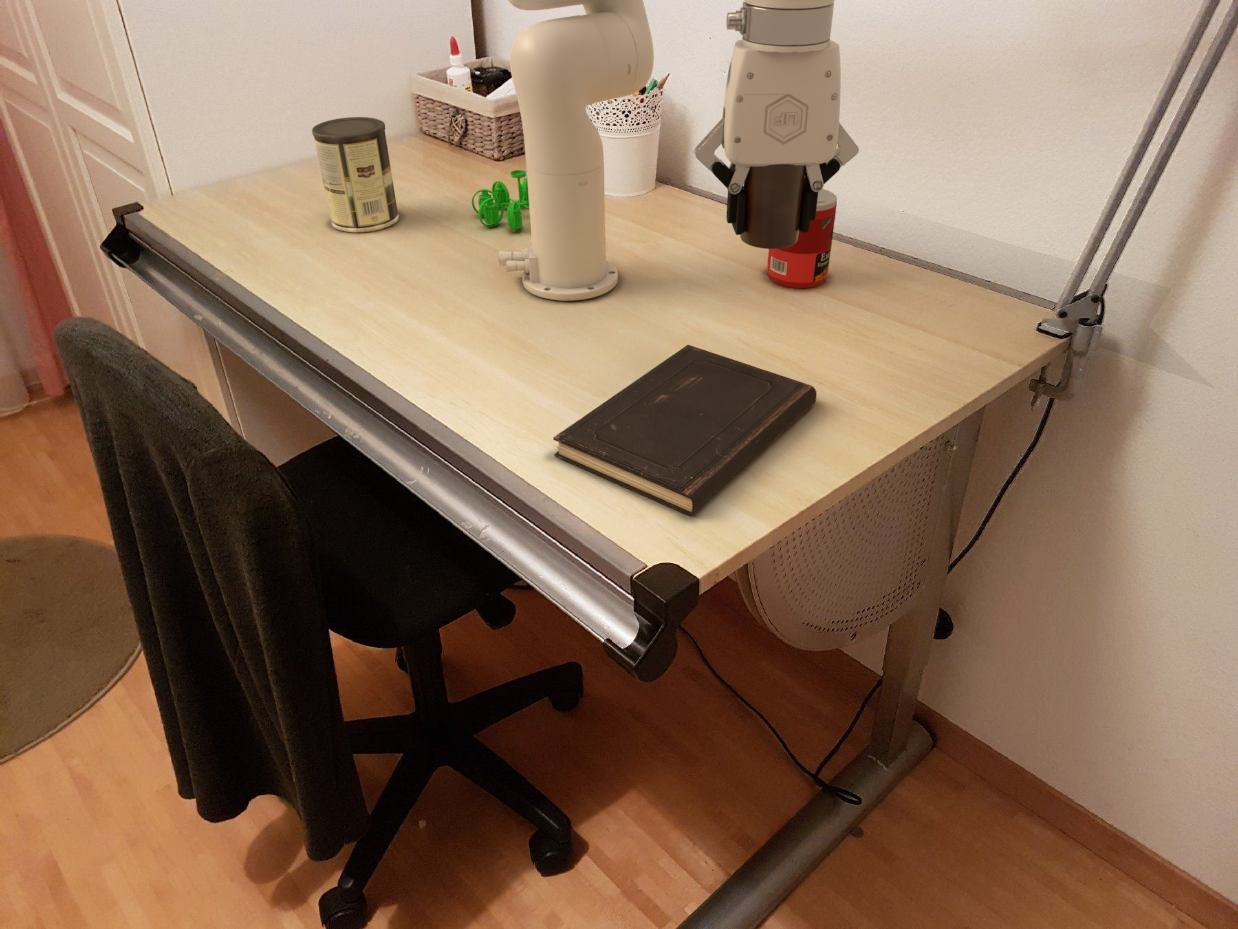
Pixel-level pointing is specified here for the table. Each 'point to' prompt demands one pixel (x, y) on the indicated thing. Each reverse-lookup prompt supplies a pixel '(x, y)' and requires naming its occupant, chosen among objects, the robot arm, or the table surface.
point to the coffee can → (356, 173)
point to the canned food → (807, 250)
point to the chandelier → (503, 203)
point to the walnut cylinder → (773, 205)
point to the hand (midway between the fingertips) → (769, 226)
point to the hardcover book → (685, 427)
